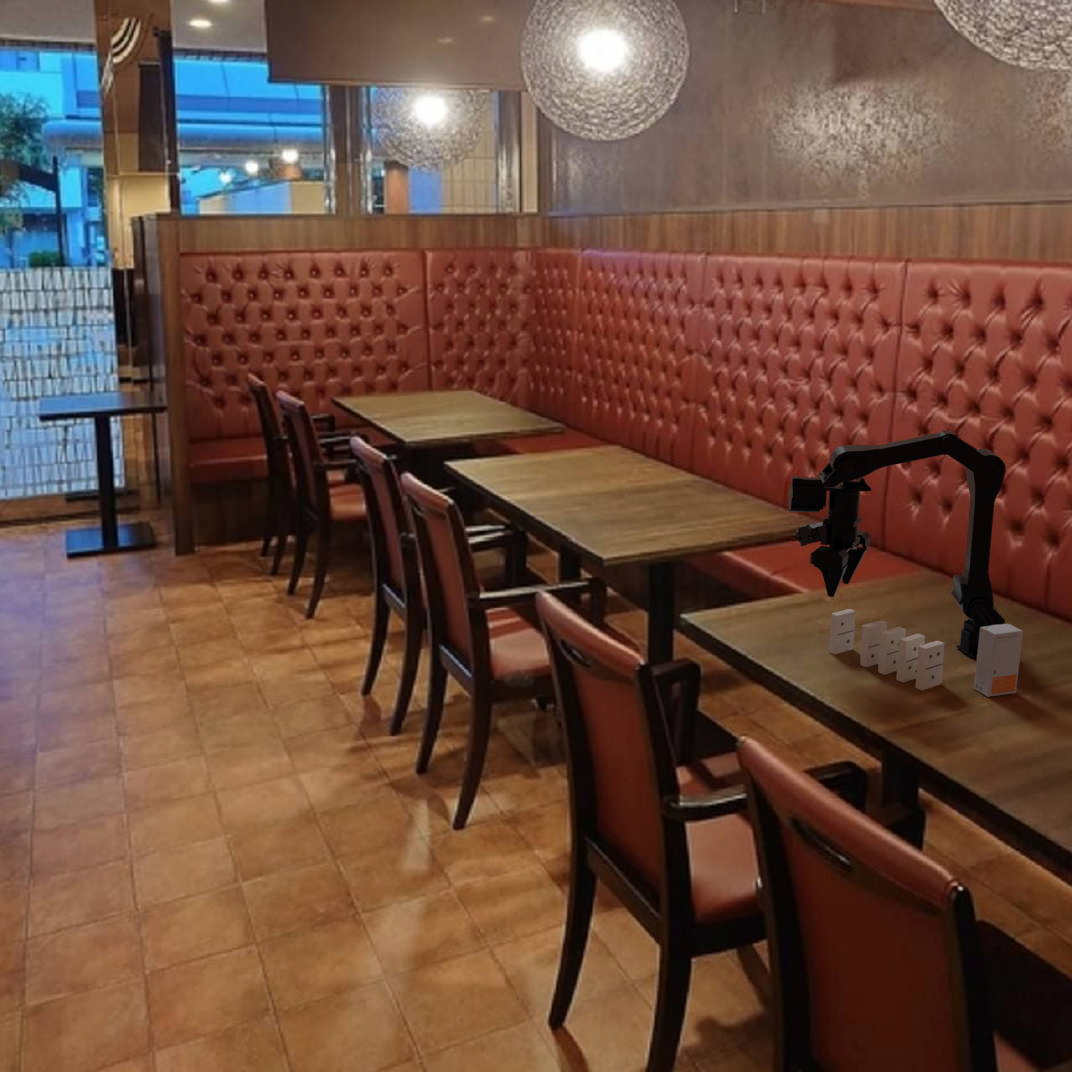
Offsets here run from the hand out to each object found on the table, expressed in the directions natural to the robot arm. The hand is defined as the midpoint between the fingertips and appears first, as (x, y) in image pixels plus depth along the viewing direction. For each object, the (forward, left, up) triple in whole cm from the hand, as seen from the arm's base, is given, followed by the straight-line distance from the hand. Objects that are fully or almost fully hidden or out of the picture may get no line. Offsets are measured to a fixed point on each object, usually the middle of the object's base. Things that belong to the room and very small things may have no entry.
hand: (838, 590), depth 221 cm
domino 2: (-3, +9, -12) cm, 15 cm away
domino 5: (-7, +22, -12) cm, 26 cm away
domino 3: (-4, +13, -12) cm, 18 cm away
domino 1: (-1, +1, -12) cm, 12 cm away
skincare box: (-17, +27, -12) cm, 34 cm away
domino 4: (-6, +17, -12) cm, 22 cm away
